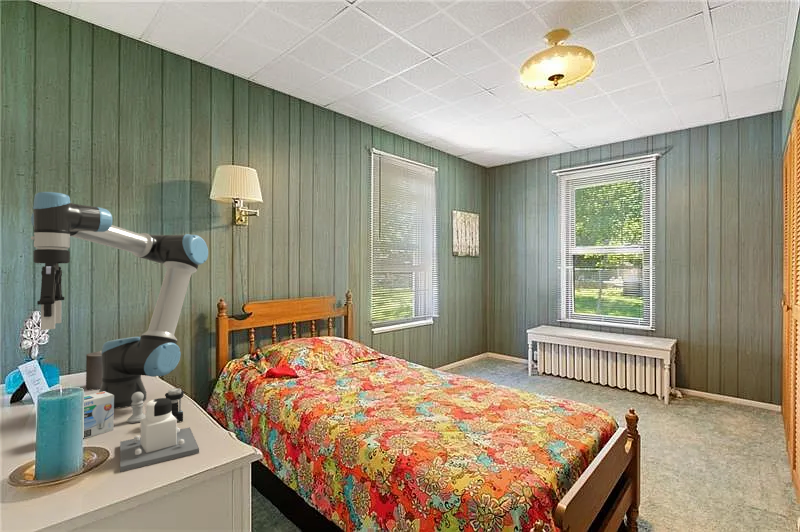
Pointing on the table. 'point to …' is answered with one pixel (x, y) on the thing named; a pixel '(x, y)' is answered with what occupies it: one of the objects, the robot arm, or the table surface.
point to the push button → (176, 402)
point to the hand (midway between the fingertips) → (51, 326)
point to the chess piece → (137, 408)
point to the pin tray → (137, 457)
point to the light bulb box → (98, 413)
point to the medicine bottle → (158, 426)
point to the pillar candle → (94, 370)
